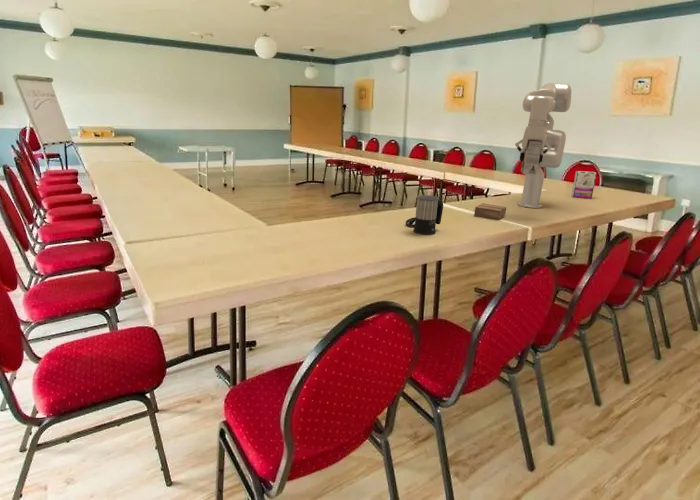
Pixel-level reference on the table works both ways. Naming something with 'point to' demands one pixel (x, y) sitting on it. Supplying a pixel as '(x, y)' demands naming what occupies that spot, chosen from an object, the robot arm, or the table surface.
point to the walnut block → (490, 211)
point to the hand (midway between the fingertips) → (530, 162)
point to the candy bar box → (583, 184)
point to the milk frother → (426, 214)
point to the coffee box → (531, 157)
